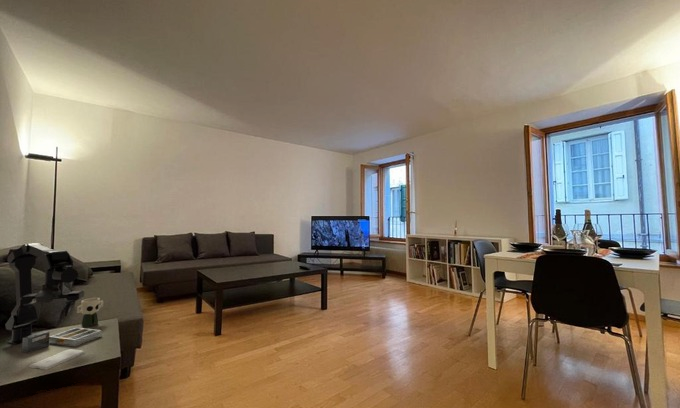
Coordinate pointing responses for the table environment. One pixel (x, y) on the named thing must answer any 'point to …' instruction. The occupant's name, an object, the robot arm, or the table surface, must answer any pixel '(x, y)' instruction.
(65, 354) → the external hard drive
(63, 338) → the rack
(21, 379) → the table surface
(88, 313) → the toy figurine
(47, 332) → the dark grey block
